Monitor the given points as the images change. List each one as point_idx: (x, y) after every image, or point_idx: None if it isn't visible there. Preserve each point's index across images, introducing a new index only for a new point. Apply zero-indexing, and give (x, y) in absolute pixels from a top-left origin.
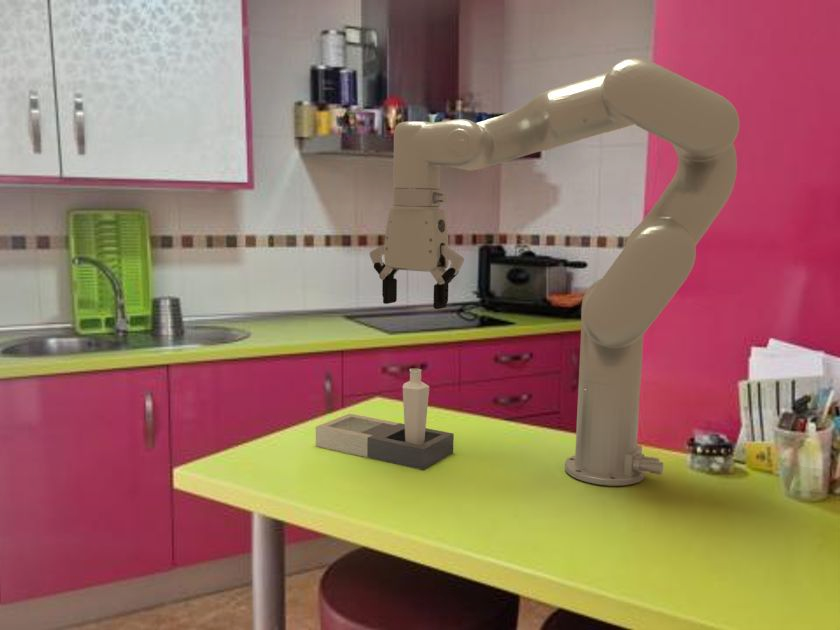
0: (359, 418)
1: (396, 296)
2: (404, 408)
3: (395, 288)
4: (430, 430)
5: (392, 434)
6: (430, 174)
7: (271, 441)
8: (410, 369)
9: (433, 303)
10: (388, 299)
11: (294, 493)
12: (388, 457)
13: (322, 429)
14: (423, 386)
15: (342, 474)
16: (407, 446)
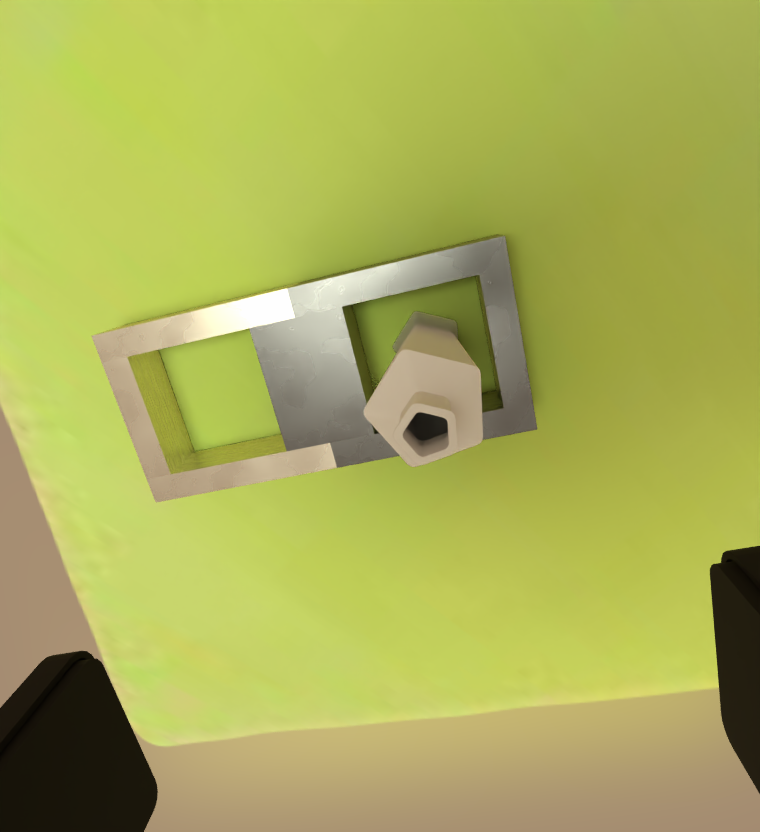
0: (158, 349)
1: (63, 695)
2: (418, 429)
3: (4, 809)
4: (422, 271)
5: (364, 393)
6: None
7: (78, 529)
8: (405, 447)
9: (752, 780)
10: (136, 811)
11: (411, 688)
12: None
13: (180, 495)
14: (475, 406)
15: (395, 561)
16: None
